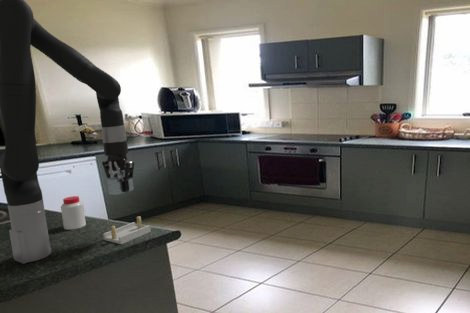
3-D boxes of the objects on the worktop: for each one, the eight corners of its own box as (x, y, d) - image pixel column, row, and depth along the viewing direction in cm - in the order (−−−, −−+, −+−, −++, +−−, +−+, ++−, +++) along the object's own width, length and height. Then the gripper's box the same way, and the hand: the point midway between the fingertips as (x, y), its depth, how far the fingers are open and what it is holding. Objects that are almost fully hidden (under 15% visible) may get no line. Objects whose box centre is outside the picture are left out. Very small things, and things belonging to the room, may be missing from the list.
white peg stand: (121, 244, 117) (119, 229, 116) (104, 239, 122) (102, 225, 121) (150, 231, 126) (149, 217, 126) (133, 228, 132) (132, 214, 131)
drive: (117, 194, 119) (115, 179, 118) (109, 194, 121) (107, 179, 120) (133, 189, 125) (132, 175, 124) (126, 188, 127) (124, 174, 126)
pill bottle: (89, 222, 143) (85, 195, 141) (79, 229, 135) (75, 200, 134) (71, 223, 144) (67, 195, 142) (59, 230, 136) (55, 201, 135)
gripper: (91, 141, 121) (98, 192, 124) (119, 141, 113) (126, 195, 116) (110, 139, 127) (117, 187, 130) (138, 138, 119) (144, 189, 122)
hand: (121, 190), depth 123 cm, fingers closed on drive, 4 cm apart
